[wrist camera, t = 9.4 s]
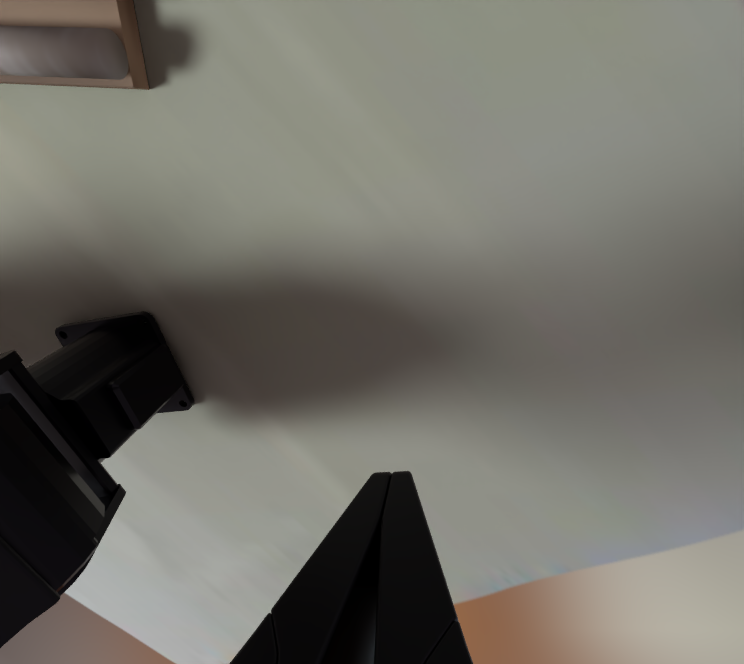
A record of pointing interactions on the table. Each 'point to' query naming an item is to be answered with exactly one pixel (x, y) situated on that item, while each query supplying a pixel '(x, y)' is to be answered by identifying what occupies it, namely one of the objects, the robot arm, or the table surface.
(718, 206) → the table surface
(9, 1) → the roller track
